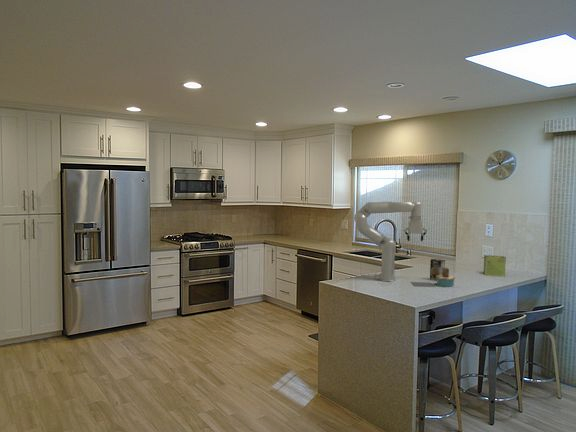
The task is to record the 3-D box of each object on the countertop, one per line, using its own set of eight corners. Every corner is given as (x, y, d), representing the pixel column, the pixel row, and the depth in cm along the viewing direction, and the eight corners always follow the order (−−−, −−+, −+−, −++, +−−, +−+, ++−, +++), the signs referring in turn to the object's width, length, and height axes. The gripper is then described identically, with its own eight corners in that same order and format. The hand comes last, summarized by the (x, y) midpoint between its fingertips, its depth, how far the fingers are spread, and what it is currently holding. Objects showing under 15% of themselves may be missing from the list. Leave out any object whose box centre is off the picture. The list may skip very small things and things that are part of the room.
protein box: (505, 276, 353) (506, 257, 352) (484, 275, 358) (485, 256, 357) (503, 274, 362) (504, 256, 362) (483, 273, 367) (484, 254, 367)
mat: (414, 287, 308) (414, 286, 308) (409, 282, 323) (409, 281, 323) (435, 287, 307) (435, 287, 307) (430, 283, 322) (430, 282, 322)
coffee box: (429, 280, 334) (430, 259, 333) (433, 279, 338) (434, 258, 337) (440, 282, 327) (440, 260, 326) (444, 281, 331) (445, 260, 330)
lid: (438, 279, 308) (438, 269, 307) (434, 275, 320) (434, 266, 320) (457, 279, 306) (457, 270, 306) (452, 276, 319) (452, 267, 319)
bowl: (439, 287, 309) (439, 278, 308) (435, 284, 320) (435, 275, 319) (455, 287, 308) (455, 279, 307) (450, 284, 319) (451, 276, 318)
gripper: (405, 218, 326) (404, 241, 327) (428, 218, 324) (427, 241, 325) (403, 217, 333) (402, 240, 334) (426, 218, 332) (425, 240, 333)
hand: (415, 240), depth 330 cm, fingers open, 9 cm apart
